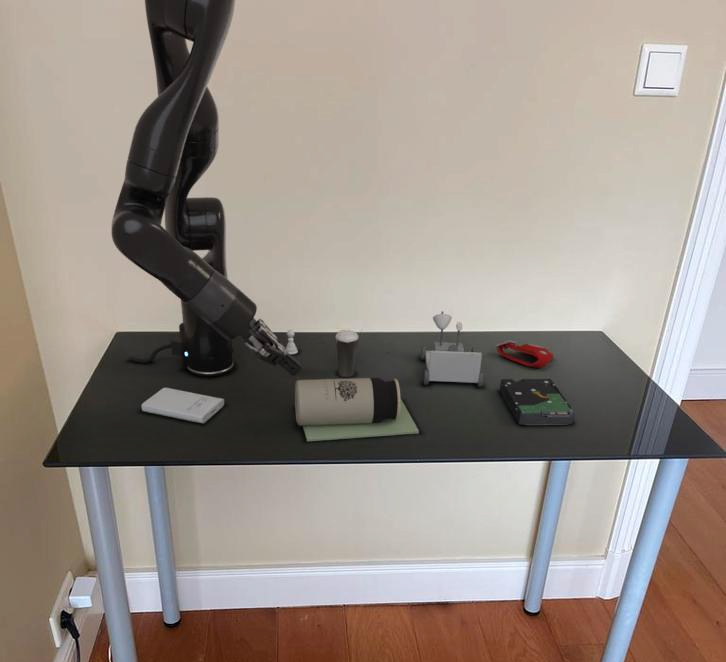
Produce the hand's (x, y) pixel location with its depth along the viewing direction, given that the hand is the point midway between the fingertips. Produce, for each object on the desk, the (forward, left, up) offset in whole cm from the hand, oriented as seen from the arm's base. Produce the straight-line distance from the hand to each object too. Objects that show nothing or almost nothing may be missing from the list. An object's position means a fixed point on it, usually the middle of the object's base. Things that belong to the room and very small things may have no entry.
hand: (297, 370), depth 131 cm
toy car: (+20, +34, -11) cm, 41 cm away
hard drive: (-22, -2, -11) cm, 24 cm away
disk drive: (+39, +23, -11) cm, 47 cm away
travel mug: (0, -1, -6) cm, 6 cm away
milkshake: (+1, +24, -11) cm, 26 cm away
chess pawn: (-14, +30, -11) cm, 35 cm away
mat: (+9, +5, -10) cm, 15 cm away
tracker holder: (+34, +46, -11) cm, 58 cm away
